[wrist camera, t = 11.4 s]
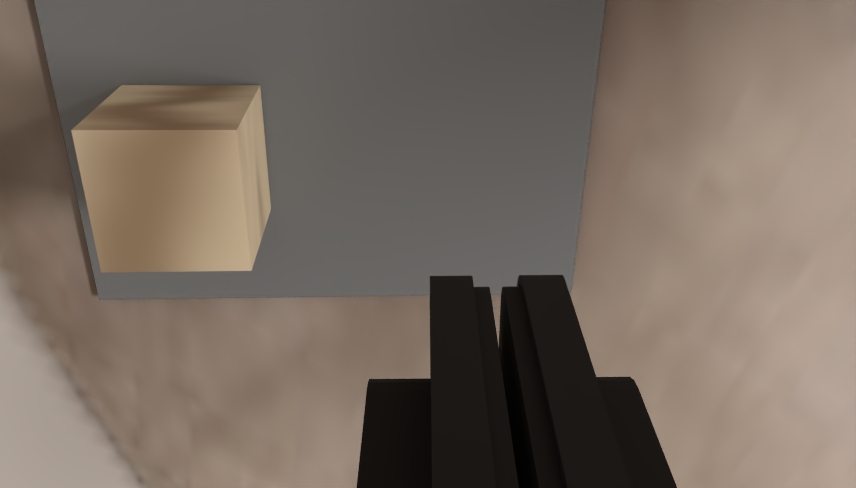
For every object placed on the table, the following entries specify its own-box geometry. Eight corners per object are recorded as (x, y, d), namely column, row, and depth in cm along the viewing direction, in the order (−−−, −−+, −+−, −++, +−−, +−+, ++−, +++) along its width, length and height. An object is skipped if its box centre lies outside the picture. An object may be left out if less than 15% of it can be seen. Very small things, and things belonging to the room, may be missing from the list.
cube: (71, 130, 28) (122, 84, 33) (101, 272, 31) (143, 208, 36) (236, 129, 28) (260, 84, 34) (251, 270, 31) (271, 208, 36)
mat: (607, -33, 32) (609, -32, 32) (569, 289, 40) (570, 293, 39) (30, -39, 31) (26, -37, 31) (101, 295, 39) (99, 299, 38)
